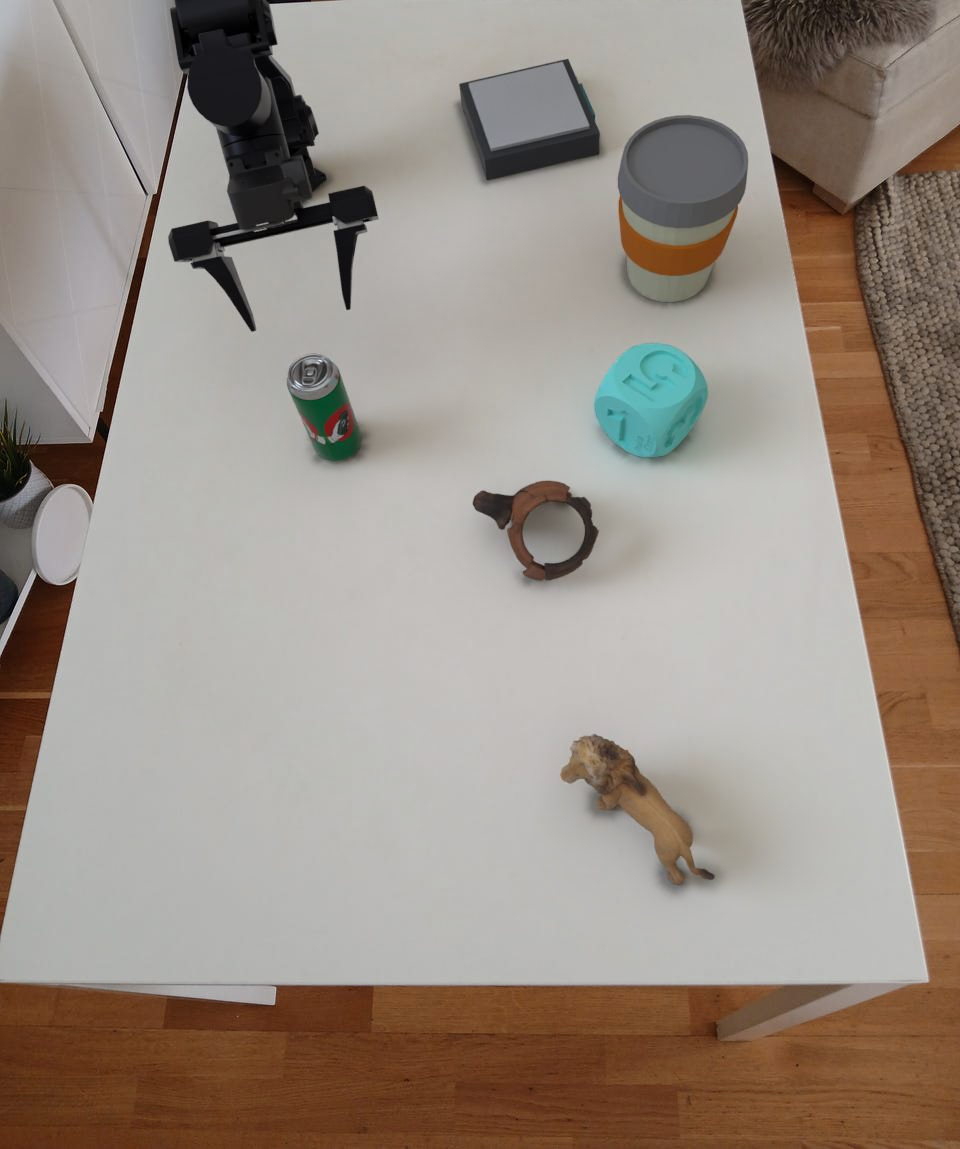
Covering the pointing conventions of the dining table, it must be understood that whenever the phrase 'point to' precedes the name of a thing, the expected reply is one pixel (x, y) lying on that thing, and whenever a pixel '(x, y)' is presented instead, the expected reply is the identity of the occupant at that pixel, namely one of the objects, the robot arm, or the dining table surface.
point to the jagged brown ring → (518, 511)
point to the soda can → (324, 407)
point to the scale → (529, 119)
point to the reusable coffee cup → (678, 202)
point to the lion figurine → (633, 799)
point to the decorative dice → (650, 399)
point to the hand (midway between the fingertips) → (301, 320)
